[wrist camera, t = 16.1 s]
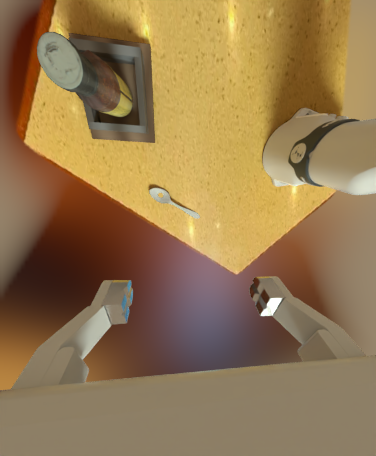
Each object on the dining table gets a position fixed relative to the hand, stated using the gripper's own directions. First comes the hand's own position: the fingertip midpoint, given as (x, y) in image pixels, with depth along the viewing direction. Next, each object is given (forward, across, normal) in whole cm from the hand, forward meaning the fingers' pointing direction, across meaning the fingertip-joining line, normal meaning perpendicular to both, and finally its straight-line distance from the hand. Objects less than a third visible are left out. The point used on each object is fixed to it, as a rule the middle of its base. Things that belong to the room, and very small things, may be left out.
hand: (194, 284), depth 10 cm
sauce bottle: (+36, +13, -14) cm, 40 cm away
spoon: (+37, -1, +10) cm, 39 cm away
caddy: (+37, +13, -15) cm, 42 cm away
